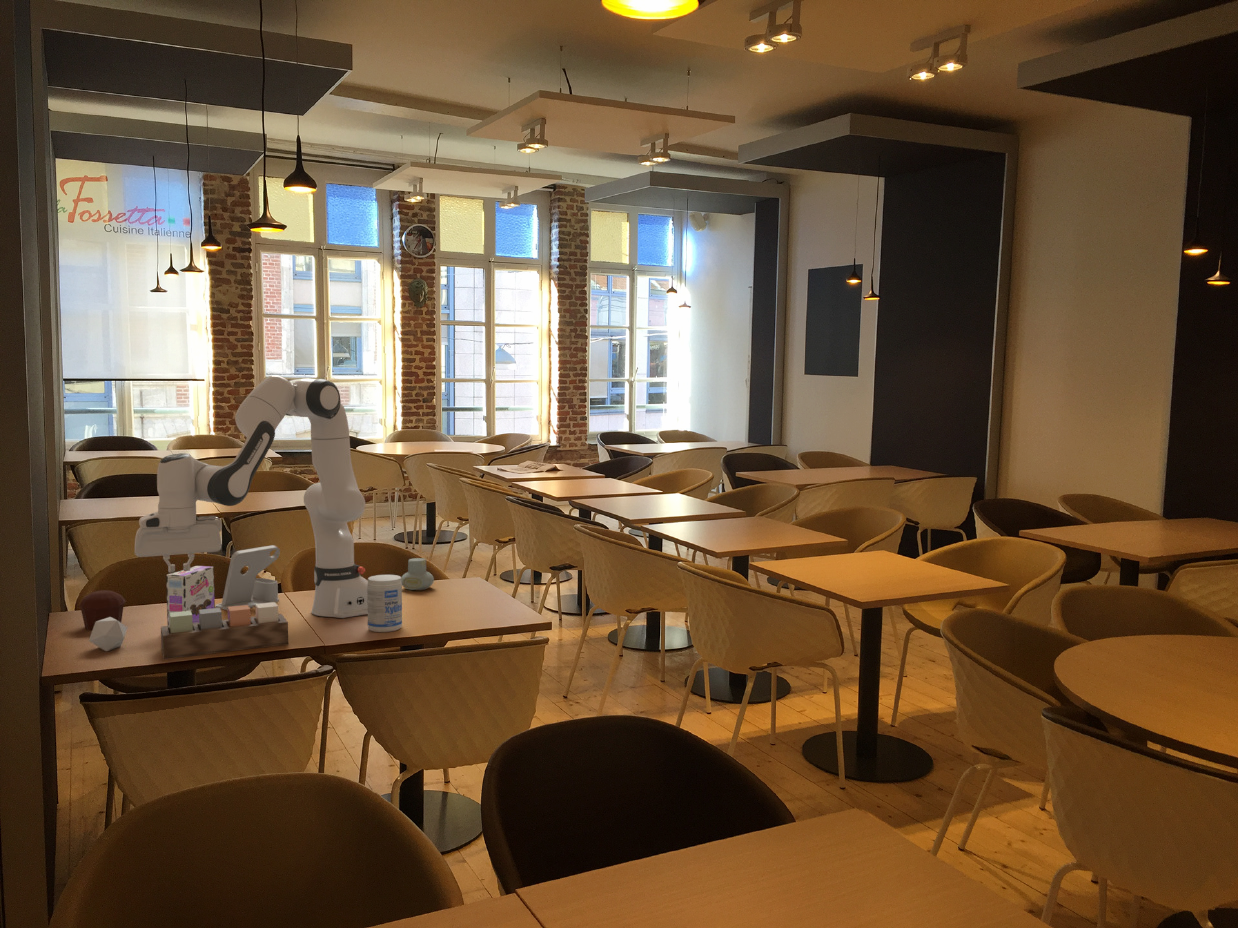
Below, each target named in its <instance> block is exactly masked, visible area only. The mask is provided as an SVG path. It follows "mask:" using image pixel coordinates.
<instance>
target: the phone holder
mask: <svg viewBox="0 0 1238 928" xmlns="http://www.w3.org/2000/svg"><path fill="white" fill-rule="evenodd" d="M273 551H275V552H274V553H273V554H272V555H270V554H271V552H273ZM280 552H281V549H280V548H279V547H278V546H276V545H274V544H272V545H267V546H266V545H265V546H260V547H254V548H247V549H241V550H237V551H235V552H233V554H232V555H231V557H230V562H229V566H228V571H227V576H226V580H225V586H224V590H223V596H222V601H221V602H220V603H217V604H216V603H215V608H220V610H225V611H228V607H231V606H241V605H248V606H249V608H250V609H251V608H256V605H255V604H261V603H271V602H275V603H278V602H280V598H279V594H278V593H279V592H278V591H279V590H278V588H279V587H278V584H279V583H278V580H275V579H269V578H266V577H259V578H258V577H257V576H258V574H260V573H261V572H262V571H264V570H265V569H266V568H268V567H269V566H270V565H271V564H272V563H274V562H275V561H276V560H277V559H278V558H279V556H280ZM244 567H247V568H248V569H247V571H246V572H245V573H244V574H243V573H242V572H241V571H242V569H243V568H244Z"/></svg>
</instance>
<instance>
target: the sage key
mask: <svg viewBox="0 0 1238 928" xmlns="http://www.w3.org/2000/svg"><path fill="white" fill-rule="evenodd" d="M169 616H170V633H176V632H185V631H193V622H192V613H191V611H182V612H172V613H169Z"/></svg>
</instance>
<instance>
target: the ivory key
mask: <svg viewBox="0 0 1238 928" xmlns="http://www.w3.org/2000/svg"><path fill="white" fill-rule="evenodd" d="M255 605H256V607H255V616H256V623H257V624H258V623H267V622H276V621H278V614H279V605H278V604H277V602H271V603H261V604H255Z"/></svg>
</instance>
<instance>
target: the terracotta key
mask: <svg viewBox="0 0 1238 928" xmlns="http://www.w3.org/2000/svg"><path fill="white" fill-rule="evenodd" d="M250 617H251V608H249V606H248V605H241V606H231V607H228V610H227V619H228V626H229V627H231V626H240V625H249V624H251V618H250Z"/></svg>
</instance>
